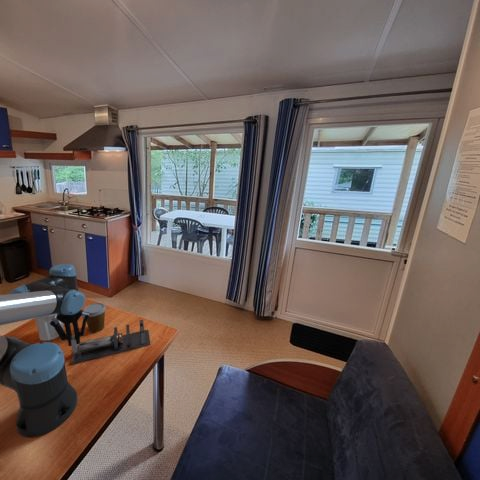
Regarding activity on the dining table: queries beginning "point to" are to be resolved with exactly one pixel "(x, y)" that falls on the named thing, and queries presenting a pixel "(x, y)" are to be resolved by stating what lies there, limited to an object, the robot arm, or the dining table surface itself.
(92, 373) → the dining table surface
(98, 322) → the disposable coffee cup
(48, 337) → the cup
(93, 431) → the dining table surface
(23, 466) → the dining table surface
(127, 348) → the collar rail
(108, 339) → the tube
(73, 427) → the dining table surface
